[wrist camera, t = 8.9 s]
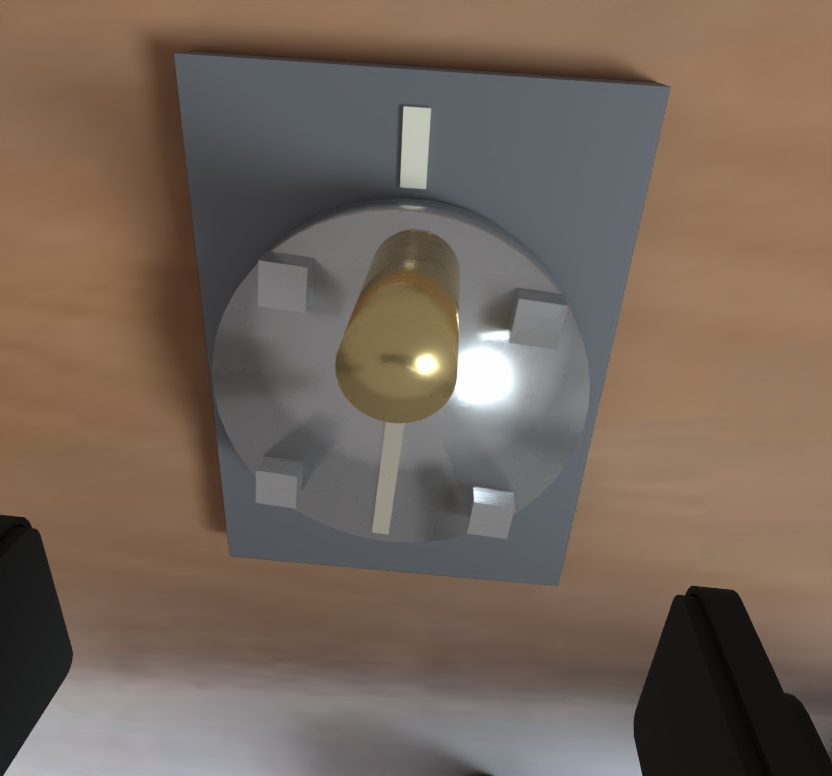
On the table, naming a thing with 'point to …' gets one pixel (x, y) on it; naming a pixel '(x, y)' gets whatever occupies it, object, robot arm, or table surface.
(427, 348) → the disc with brass post
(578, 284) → the base plate
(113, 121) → the table surface
